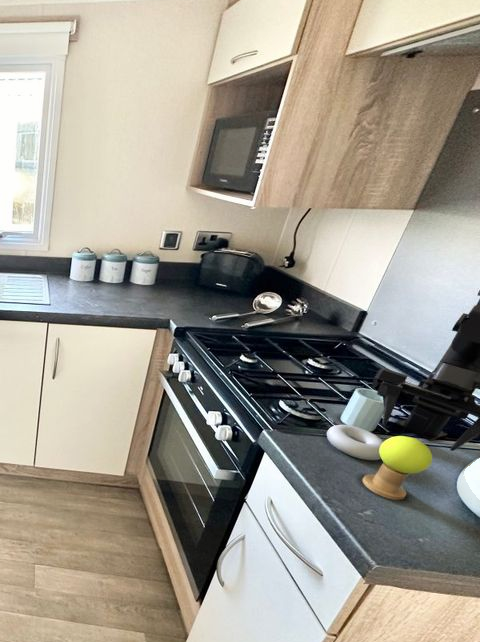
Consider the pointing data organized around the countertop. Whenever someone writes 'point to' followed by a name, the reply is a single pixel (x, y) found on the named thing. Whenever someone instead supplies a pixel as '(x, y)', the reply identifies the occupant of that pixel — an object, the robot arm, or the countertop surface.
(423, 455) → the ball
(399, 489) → the wooden egg stand
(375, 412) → the cup
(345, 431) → the donut
